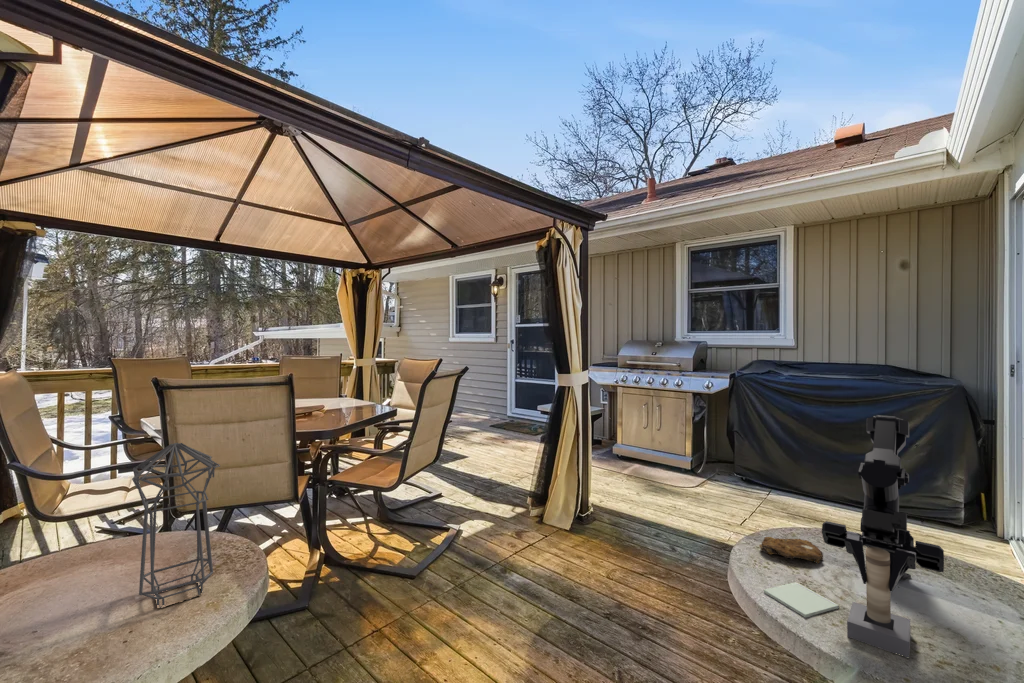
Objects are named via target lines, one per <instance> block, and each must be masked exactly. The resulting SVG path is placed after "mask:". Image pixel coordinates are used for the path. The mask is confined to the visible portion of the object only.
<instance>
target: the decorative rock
mask: <svg viewBox="0 0 1024 683" xmlns="http://www.w3.org/2000/svg"><path fill="white" fill-rule="evenodd" d="M758 547H759V548H760V550H761V551H763V552H764V551H765V552H764V553H765V554H767V555H770V556H771V555H781V556H782V557H784V558H785V559H788V558H789V559H791V560H794V559H795V558H794V557H796V559H797V558H798V559H800V558H802V559H801V560H807V561H809V562H813V561H815V562H814V563H816V562H817V563H816V564H820V562H821V561H823V560H824V559H823V558H824V554H823V551H821V550H820V549H819V547H818V546H817V545H815V544H814V543H812V541H809V540H806V539H801V538H779V537H778V538H774V537H772V536H765V537H764V538H763V541H761V544H759V545H758ZM822 559H823V560H822Z"/></svg>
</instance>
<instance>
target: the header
mask: <svg viewBox="0 0 1024 683" xmlns="http://www.w3.org/2000/svg"><path fill="white" fill-rule="evenodd" d="M846 622H847V623H846V624H847V626H846V632H847V634H846V635H847V636H846V637H848V638H850V639H852V640H856V641H858V642H861V643H864V642H865V643H864V644H867V645H869V644H870V646H872V647H874V648H878V649H881V650H884V651H886V652H890V653H892V652H893V654H895V653H897V654H900V655H903V656H905V657H904V658H906V657H909V658H910V656H909V654H910V652H911V619H910V618H908V617H904V616H900V615H898V614H894V613H891V622H890V623H880V622H877V621H875V620H873V619H871V618H869V617H868V615H867V605H866V604H862V603H860V602H856V601H852V603H851V606H850V609H849V613H848V617H847V621H846ZM897 654H896V655H897ZM900 655H899V656H900ZM903 656H902V657H903Z"/></svg>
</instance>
